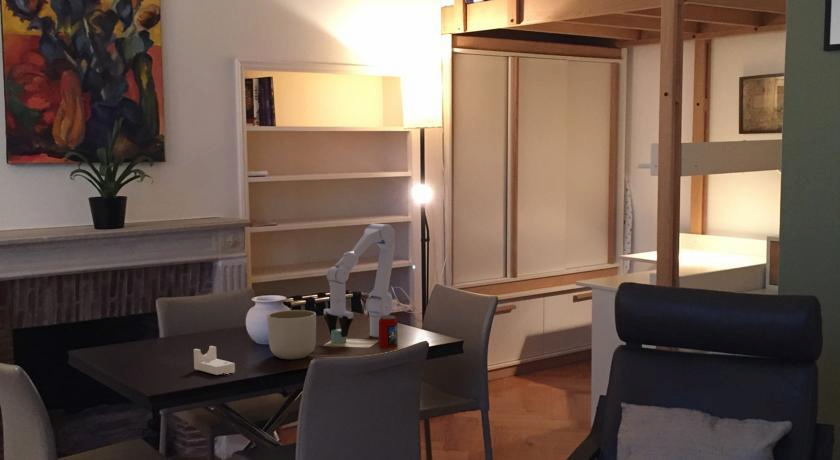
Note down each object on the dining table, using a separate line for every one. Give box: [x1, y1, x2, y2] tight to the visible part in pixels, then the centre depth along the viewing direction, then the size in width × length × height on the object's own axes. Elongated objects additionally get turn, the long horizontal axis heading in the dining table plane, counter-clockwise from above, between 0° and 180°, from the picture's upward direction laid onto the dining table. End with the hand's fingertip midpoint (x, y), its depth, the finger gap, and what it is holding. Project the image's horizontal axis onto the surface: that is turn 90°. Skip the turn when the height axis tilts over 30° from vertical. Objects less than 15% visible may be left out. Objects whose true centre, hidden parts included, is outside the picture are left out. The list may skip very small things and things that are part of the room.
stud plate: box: [322, 338, 379, 349], centre depth 353 cm, size 14×18×4 cm
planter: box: [266, 309, 317, 360], centre depth 336 cm, size 17×17×15 cm
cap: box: [330, 328, 347, 344], centre depth 354 cm, size 6×6×4 cm
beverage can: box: [378, 314, 399, 349], centre depth 346 cm, size 7×7×12 cm
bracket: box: [193, 345, 236, 376], centre depth 315 cm, size 13×7×8 cm, turn 46°
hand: (338, 335), depth 354 cm, fingers open, 6 cm apart
